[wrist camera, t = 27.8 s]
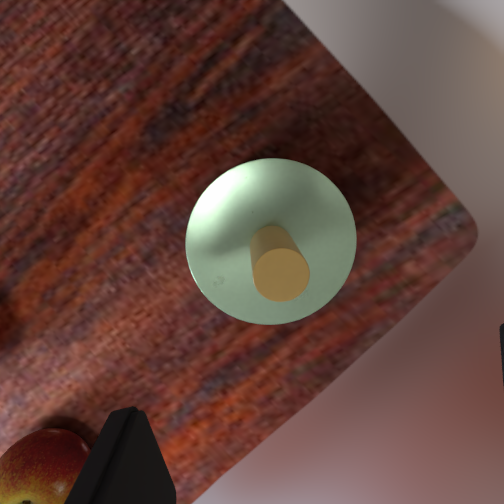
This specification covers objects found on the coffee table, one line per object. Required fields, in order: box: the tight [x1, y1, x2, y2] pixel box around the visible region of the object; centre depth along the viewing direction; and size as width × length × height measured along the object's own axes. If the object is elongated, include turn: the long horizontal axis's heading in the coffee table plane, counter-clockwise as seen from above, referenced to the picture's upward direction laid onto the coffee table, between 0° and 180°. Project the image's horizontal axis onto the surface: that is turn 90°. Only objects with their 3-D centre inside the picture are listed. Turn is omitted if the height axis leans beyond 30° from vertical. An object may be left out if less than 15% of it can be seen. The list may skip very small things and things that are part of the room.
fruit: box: [0, 428, 91, 504], centre depth 35 cm, size 10×9×8 cm
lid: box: [186, 158, 356, 325], centre depth 23 cm, size 13×13×8 cm
